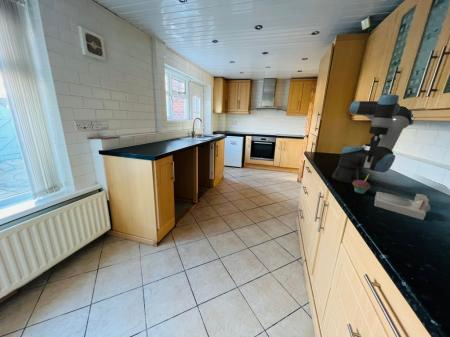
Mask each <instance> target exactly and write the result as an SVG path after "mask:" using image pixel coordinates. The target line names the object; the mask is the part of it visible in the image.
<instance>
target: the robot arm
mask: <svg viewBox="0 0 450 337" xmlns="http://www.w3.org/2000/svg"><path fill="white" fill-rule="evenodd" d="M399 99H400V96H399V95H398V94H382V95H380V96H379V98H378V100H376V101H375V100H374V101H373V100H372V101H371V100H369V101H367V100H355V101H353V102H351V103H350V107H349V114H350V115H360V116H364V117H366V118H367V119H368V120H370V121H371V126H370V128H369V130H368V134H371V135H373V136H372V137H371V138H370V143H369V145H370V146H369V149H366V148H365V147H364V146H356V145H355V146H354V145H353V146H344V147H343V148H342V150H341V152H340V158H339V162H338V165H337V168H336V169H335V170H334V172H333V173H332V178H333V179H335V180H337V181H340V182H341V183H348V184H353V181H355V180H359V169H365V170H370V171H373V172H378V173H386V172H388V171H389V170H390V169H391V167H392V166H393V164H394V162H395V159H396V155H395V154H394V151H393V150H394V148H395V145H396V144H397V142H398V140H399V138H400V136H401V134H402V132H403V130H404V129H406V128H407V127H408V126H412V125H413V124H414V120H415V119H414V120H412V119H411V118H412V117H413V114H412V111H411V110H408V109H407V108H406V107H404V106H405V105H400V104H399V103H398V102H399Z"/></svg>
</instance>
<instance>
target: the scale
mask: <svg viewBox="0 0 450 337" xmlns="http://www.w3.org/2000/svg"><path fill="white" fill-rule="evenodd" d="M429 201H430V200H429V199H428V197H427V195H426V194H422V193H416V195H415V196H414V199H409V198H404V197H403V196H399V195H396V194H392V193H387V192H381V191H376V193H375V196H374V207H376V208H381V209H384V210H388V211H390V212H391V211H392V212H395V213H398V214H401V215H404V216H408V217H412V218H415V219H418V220H422V221H424V219H425V217H426V215H427V214H426V213H428V212H429V211H430V210H431V205H430V204H429Z"/></svg>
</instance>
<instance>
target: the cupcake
mask: <svg viewBox="0 0 450 337" xmlns="http://www.w3.org/2000/svg"><path fill="white" fill-rule="evenodd" d="M369 176H370V173H368V174H367V176H366V178H365V179H363V180H362V179H358V180H355V181H353V183H352V185H353V188H354V192H355V193H358V194H365V193H366V192H367V190H370V189H371V187H372V184H370V183H369V182H368V181H367V180H368V179H369Z"/></svg>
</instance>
